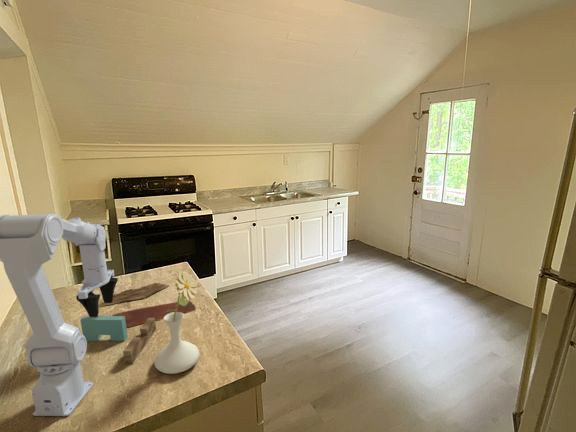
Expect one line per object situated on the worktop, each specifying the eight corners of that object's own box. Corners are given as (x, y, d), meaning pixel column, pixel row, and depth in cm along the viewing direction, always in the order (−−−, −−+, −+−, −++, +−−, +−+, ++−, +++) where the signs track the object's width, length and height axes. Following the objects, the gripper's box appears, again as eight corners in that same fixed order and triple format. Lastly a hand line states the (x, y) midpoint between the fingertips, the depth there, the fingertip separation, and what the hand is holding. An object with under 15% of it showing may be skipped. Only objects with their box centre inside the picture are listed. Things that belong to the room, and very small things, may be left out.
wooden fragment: (164, 281, 135) (164, 279, 135) (173, 291, 127) (173, 289, 126) (93, 300, 120) (93, 297, 119) (98, 313, 111) (98, 310, 111)
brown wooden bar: (132, 364, 86) (130, 351, 85) (124, 364, 86) (122, 351, 85) (156, 329, 102) (154, 317, 101) (149, 329, 102) (148, 317, 101)
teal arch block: (127, 336, 98) (124, 316, 96) (124, 341, 96) (121, 319, 94) (87, 336, 98) (84, 316, 96) (83, 340, 96) (80, 319, 94)
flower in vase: (174, 385, 79) (165, 291, 73) (145, 367, 85) (135, 279, 79) (213, 355, 90) (208, 271, 84) (185, 341, 96) (178, 262, 90)
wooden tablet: (110, 334, 100) (109, 329, 100) (110, 318, 109) (110, 313, 108) (197, 312, 112) (197, 308, 112) (191, 300, 121) (191, 296, 120)
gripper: (95, 256, 98) (101, 296, 101) (63, 276, 84) (71, 323, 87) (118, 256, 98) (124, 297, 101) (90, 276, 84) (97, 323, 87)
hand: (101, 309), depth 94 cm, fingers open, 7 cm apart
